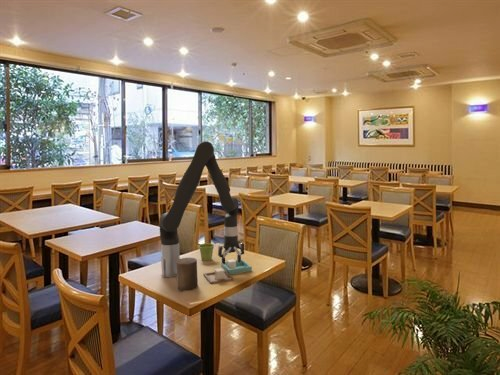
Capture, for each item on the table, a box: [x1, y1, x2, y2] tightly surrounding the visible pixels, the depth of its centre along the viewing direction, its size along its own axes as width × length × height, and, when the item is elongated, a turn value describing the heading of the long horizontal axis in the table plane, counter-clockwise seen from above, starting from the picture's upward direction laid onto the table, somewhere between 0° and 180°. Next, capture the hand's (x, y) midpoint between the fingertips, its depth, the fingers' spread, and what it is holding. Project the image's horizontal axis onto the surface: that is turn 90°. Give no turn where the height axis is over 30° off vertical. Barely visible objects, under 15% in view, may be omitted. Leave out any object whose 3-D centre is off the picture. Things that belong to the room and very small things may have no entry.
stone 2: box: [226, 258, 236, 269], centre depth 193 cm, size 4×4×5 cm
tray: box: [202, 269, 234, 285], centre depth 182 cm, size 12×13×2 cm
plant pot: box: [198, 242, 215, 262], centre depth 212 cm, size 9×9×9 cm
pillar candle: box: [176, 257, 199, 292], centre depth 170 cm, size 10×10×15 cm
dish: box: [220, 258, 253, 275], centre depth 194 cm, size 13×13×3 cm
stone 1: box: [214, 267, 225, 280], centre depth 179 cm, size 4×4×5 cm
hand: (231, 262), depth 193 cm, fingers open, 8 cm apart
